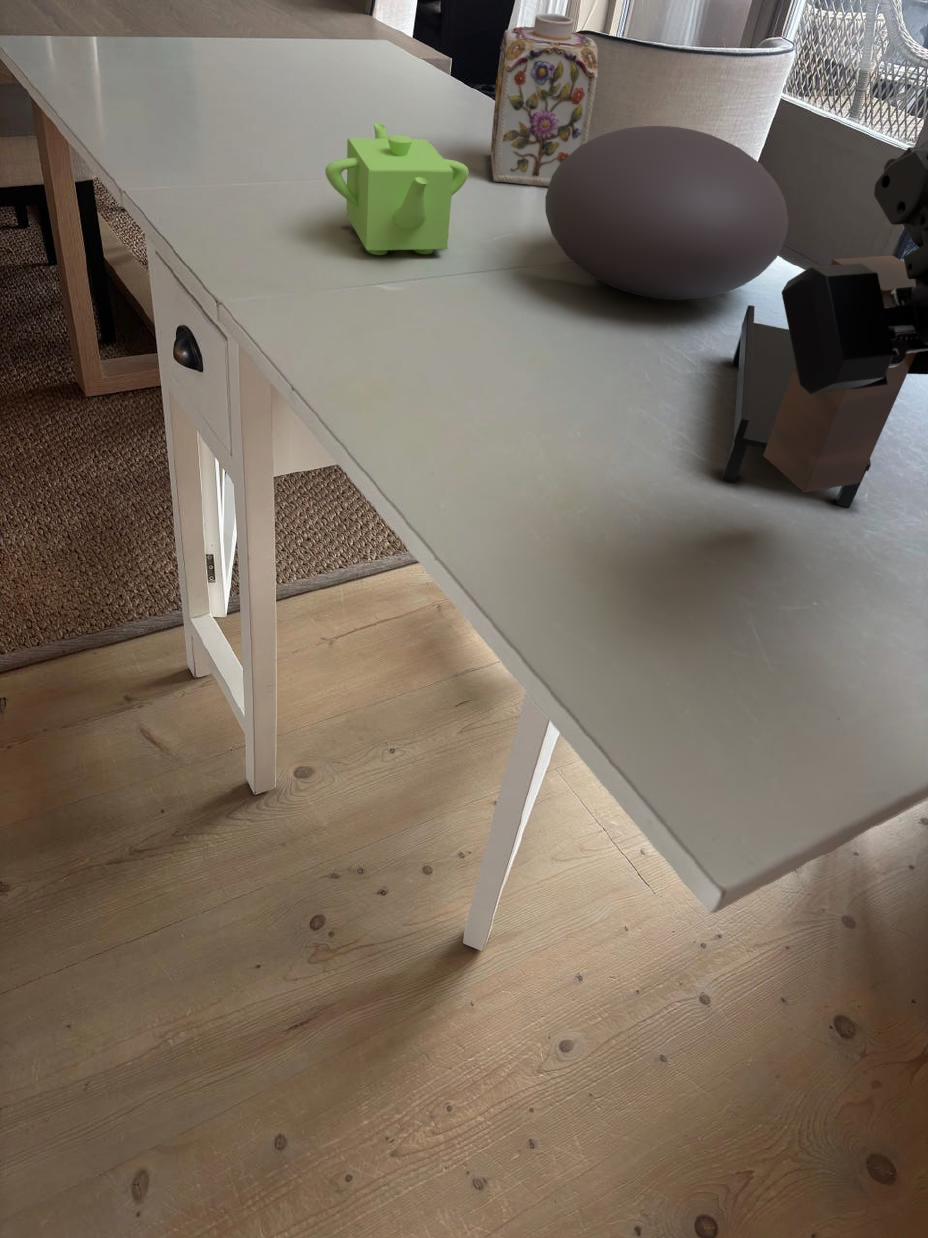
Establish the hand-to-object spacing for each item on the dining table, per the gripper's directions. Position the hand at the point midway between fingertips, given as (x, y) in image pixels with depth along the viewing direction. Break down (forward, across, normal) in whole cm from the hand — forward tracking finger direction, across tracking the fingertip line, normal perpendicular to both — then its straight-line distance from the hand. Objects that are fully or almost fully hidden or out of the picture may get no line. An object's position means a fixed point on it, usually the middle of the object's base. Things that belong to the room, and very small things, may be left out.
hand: (833, 367), depth 60 cm
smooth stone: (+39, -14, -21) cm, 46 cm away
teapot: (+49, +10, -31) cm, 59 cm away
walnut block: (+4, 0, +6) cm, 7 cm away
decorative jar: (+64, -17, -47) cm, 81 cm away
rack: (+18, -10, 0) cm, 21 cm away
